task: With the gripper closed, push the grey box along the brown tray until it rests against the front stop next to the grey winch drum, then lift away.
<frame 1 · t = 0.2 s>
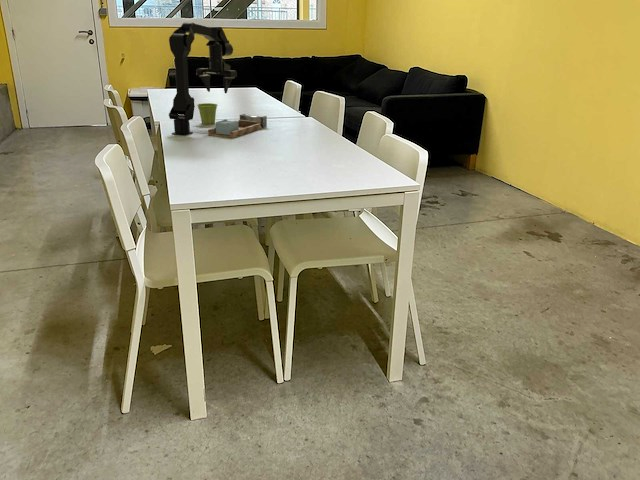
hand: (217, 92, 244), 14 cm above the table, tool pointing down, fingers open, 9 cm apart
grey box: (227, 127, 226), point 3 cm above the table, slide at 0.0 cm
brown tray: (235, 132, 232), on the table
plant pot: (208, 123, 250), on the table
winch drum: (253, 126, 246), on the table
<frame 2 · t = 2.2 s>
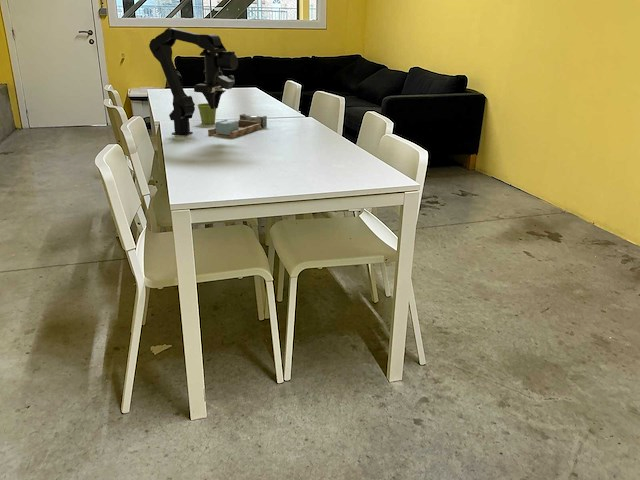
hand: (214, 108, 215), 12 cm above the table, tool pointing down, fingers closed
nothing on the table moved.
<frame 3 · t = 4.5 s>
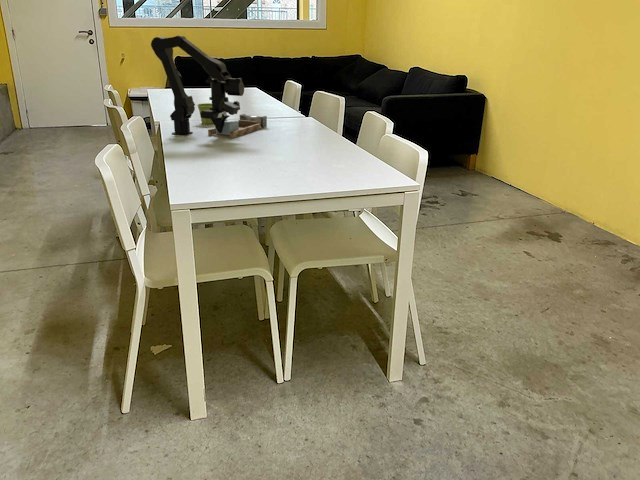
hand: (220, 133, 221), 2 cm above the table, tool pointing down, fingers closed
grey box: (227, 127, 226), point 3 cm above the table, slide at 0.0 cm, touching gripper
everything else where it was.
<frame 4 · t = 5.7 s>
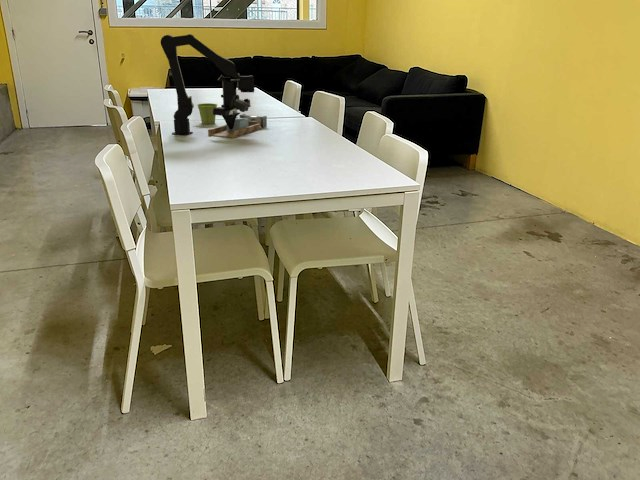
hand: (231, 129, 229), 2 cm above the table, tool pointing down, fingers closed
grey box: (237, 124, 233), point 3 cm above the table, slide at 8.6 cm, touching gripper
everything else where it was.
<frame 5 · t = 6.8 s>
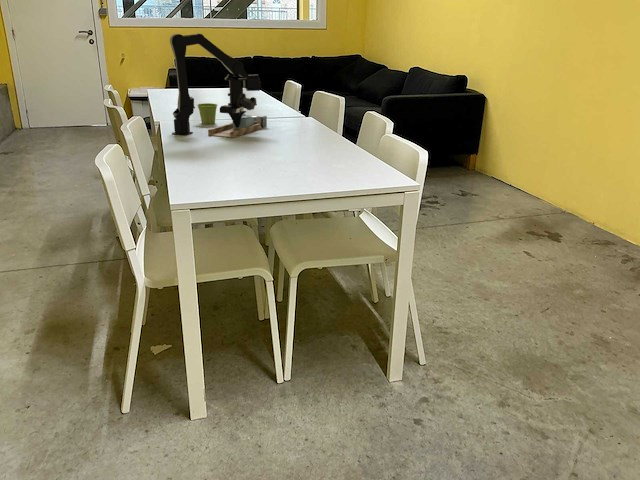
hand: (237, 127, 233), 2 cm above the table, tool pointing down, fingers closed
grey box: (243, 122, 237), point 3 cm above the table, slide at 13.7 cm, touching gripper
everything else where it was.
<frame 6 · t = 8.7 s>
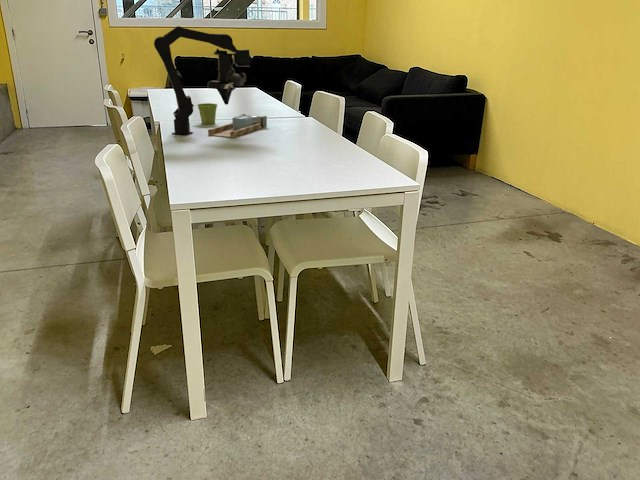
hand: (226, 104, 227), 12 cm above the table, tool pointing down, fingers closed
grey box: (243, 122, 237), point 3 cm above the table, slide at 13.6 cm
everything else where it was.
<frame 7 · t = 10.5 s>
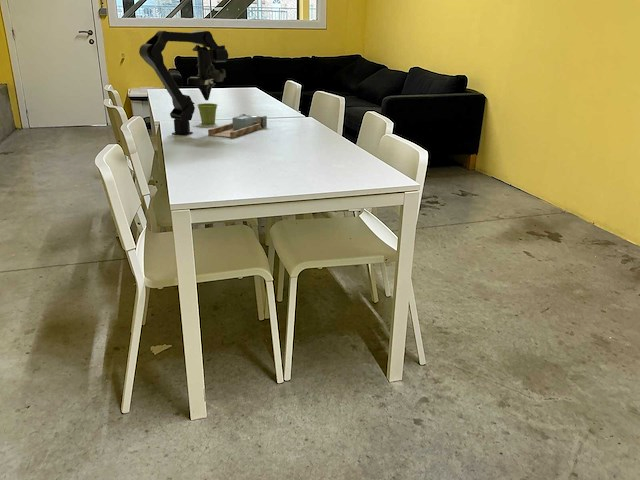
hand: (206, 100, 229), 13 cm above the table, tool pointing down, fingers closed
nothing on the table moved.
at the end: grey box slide at 13.6 cm; plant pot moved 0.3 cm from its start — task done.
